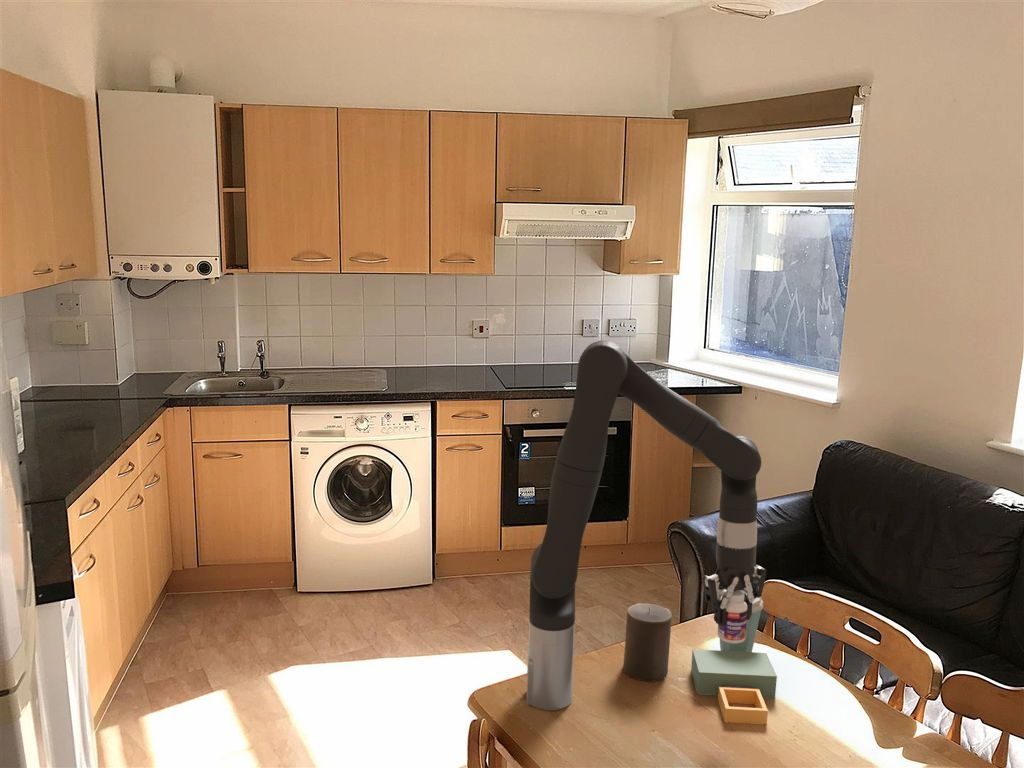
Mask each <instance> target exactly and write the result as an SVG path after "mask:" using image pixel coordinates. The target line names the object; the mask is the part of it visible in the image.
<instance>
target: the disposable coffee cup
mask: <svg viewBox="0 0 1024 768" xmlns="http://www.w3.org/2000/svg"><path fill="white" fill-rule="evenodd" d="M723 591H724V589H723ZM721 599H722V596H721ZM721 599H720V601H721ZM763 608H764V601H763V599H762V596H761V597H760V598H755V599H754V601H753V602H752V615H751V616H750V620H747V622H746V638H745V640H744V641H743V642H741V643H728V642H725V641H723V640H721V639H720V638H719V646H720V647H719V648H720V651H737V652H753V648H754V645H755V640H756V635H757V630H758V627H759V621H760V617H761V612H762V610H763Z"/></svg>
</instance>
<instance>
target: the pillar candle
mask: <svg viewBox="0 0 1024 768" xmlns="http://www.w3.org/2000/svg"><path fill="white" fill-rule="evenodd" d="M626 614H627V615H626V625H625V640H624V641H625V642H624V654H623V664H622V665H623V666H622V667H623V671H624V672H625V674H626V675H628V676H629V677H631V678H633V679H635V680H639V681H643V682H656V681H660V680H663V679H665V678H666V677H667V676H668V672H669V657H670V643H671V633H672V632H671V630H672V617H673V616H672V612H671V610H670V609H668V608H666V607H663V606H661V605H658V604H652V603H636V604H633V605H631V606H629V607H628V608H627V613H626ZM666 675H667V676H666ZM664 677H665V678H664Z"/></svg>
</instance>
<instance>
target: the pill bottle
mask: <svg viewBox="0 0 1024 768" xmlns="http://www.w3.org/2000/svg"><path fill="white" fill-rule="evenodd" d="M723 590H724V591H725V592H726V589H724V588H723ZM744 594H745V593H744V591H743V590H736V591H734V592H733V593H732V596H731V598H730V599H728V601H727V604H726V606H725V608H726V619H725V625H724V626H720V625H718V624H717V637H718V638H719V640H720V639H721V640H723V641H725V642H728V643H741V642H743V641H744V640H745V638H746V622H747V604H746V602H744Z"/></svg>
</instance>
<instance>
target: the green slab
mask: <svg viewBox="0 0 1024 768" xmlns="http://www.w3.org/2000/svg"><path fill="white" fill-rule="evenodd" d="M691 653H692V654H691V674H692V678H693V682H694V686H695V690H696V692H697V695H702V696H703V695H707V696H717V701H718V705H719V708H720V711H722V712H721V715H722V718H723V721H724V723H728V722H729V723H730V724H746V723H747V725H748V724H749V723H750V725H764V724H765V726H767V725H768V713H769V710H768V708H767V705H766V703H765V700H764V699H776V693H777V692H776V691H777V690H776V689H777V678H778V677H777V674H776V671H775V669H774V667H773V665H772V663H771V659H770V658H769V656H768V654H767V653H766V652H755V651H754V652H753V651H752V652H737V651H721V650H716V649H715V650H714V649H713V650H712V649H696V648H695V649H694V648H693V649H692V652H691ZM743 703H744V704H745V705H746V704H747V705H754V706H755V707H746V706H745V707H744V706H743V707H742V706H730V705H729V704H743ZM729 723H728V724H729Z"/></svg>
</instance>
